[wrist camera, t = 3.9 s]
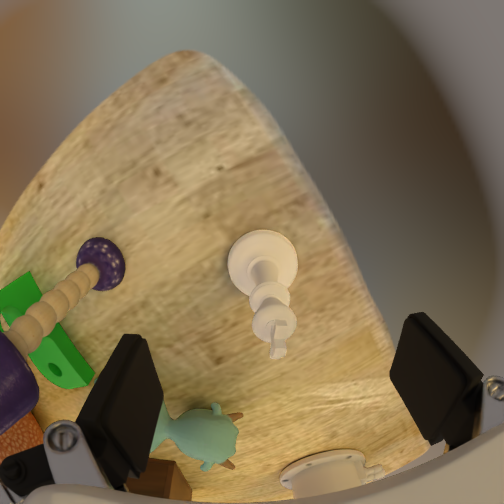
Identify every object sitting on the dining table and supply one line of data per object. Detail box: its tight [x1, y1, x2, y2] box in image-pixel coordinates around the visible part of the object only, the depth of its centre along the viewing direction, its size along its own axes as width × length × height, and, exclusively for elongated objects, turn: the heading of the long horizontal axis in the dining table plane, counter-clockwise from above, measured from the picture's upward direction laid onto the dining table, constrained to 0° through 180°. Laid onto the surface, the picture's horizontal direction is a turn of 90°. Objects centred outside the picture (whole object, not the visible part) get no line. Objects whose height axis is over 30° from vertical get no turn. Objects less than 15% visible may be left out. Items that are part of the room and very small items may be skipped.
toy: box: [94, 378, 243, 471], centre depth 21 cm, size 9×10×15 cm
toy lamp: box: [0, 237, 125, 436], centre depth 11 cm, size 5×5×17 cm
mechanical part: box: [0, 271, 95, 389], centre depth 17 cm, size 12×6×8 cm, turn 23°
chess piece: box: [228, 230, 298, 359], centre depth 15 cm, size 5×5×10 cm
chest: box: [125, 458, 192, 501], centre depth 24 cm, size 12×13×12 cm
